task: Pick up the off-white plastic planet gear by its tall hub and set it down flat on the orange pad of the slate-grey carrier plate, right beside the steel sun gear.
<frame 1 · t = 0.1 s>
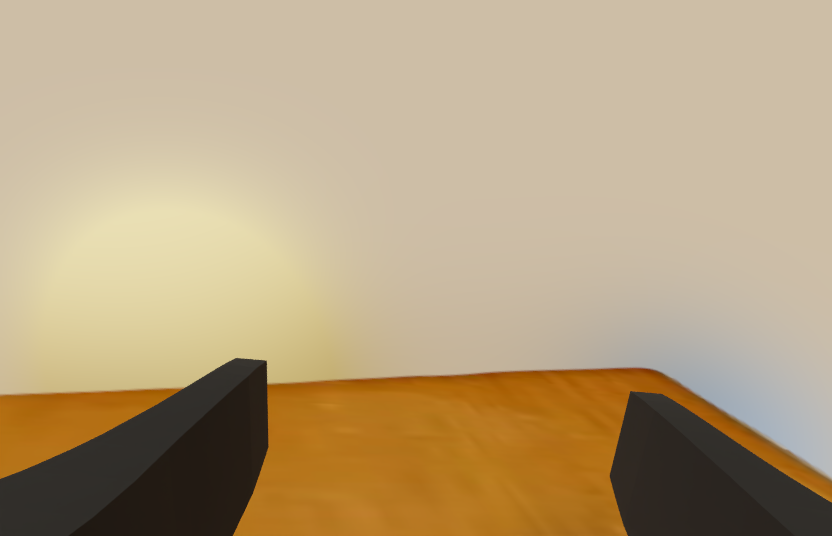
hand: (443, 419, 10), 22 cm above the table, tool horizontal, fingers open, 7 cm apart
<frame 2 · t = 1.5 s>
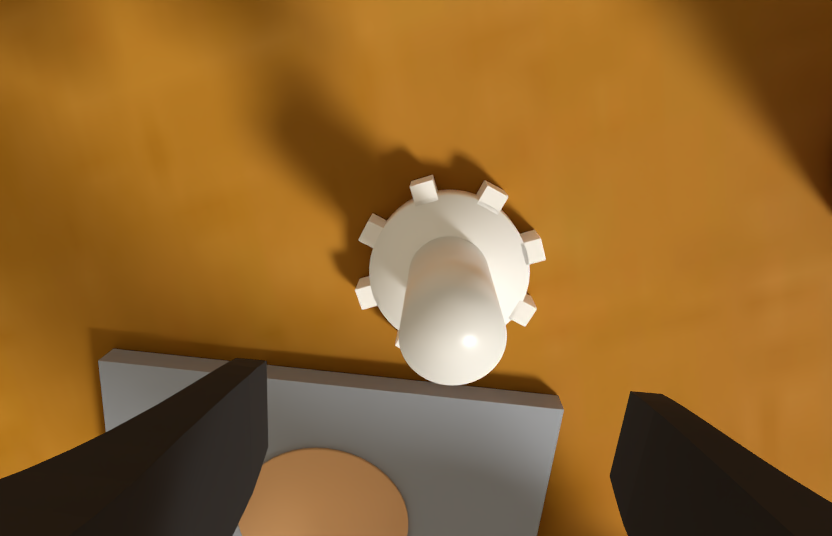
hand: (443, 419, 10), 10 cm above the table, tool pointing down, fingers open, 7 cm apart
planet gear: (448, 264, 19), on the table
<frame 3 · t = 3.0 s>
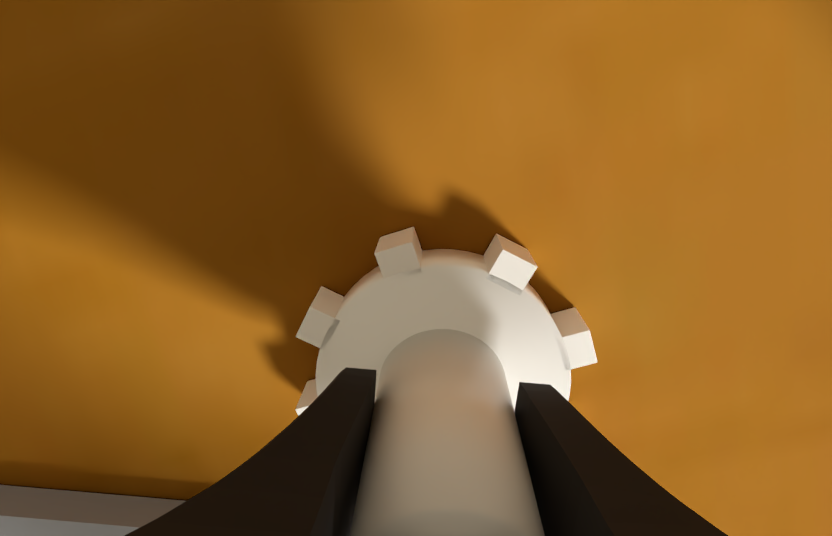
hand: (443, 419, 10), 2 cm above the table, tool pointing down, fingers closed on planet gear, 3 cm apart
planet gear: (441, 359, 13), on the table, touching gripper
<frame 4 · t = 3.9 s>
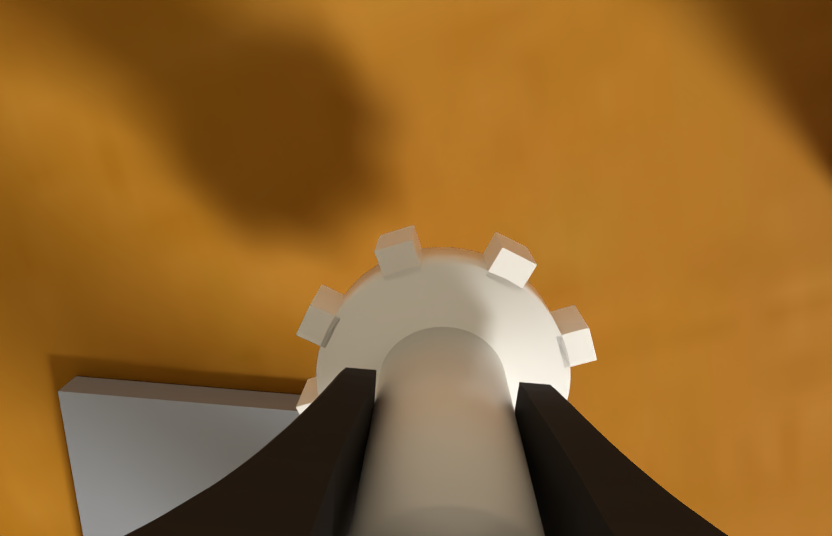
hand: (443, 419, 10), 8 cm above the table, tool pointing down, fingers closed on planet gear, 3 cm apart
planet gear: (441, 357, 13), point 5 cm above the table, touching gripper
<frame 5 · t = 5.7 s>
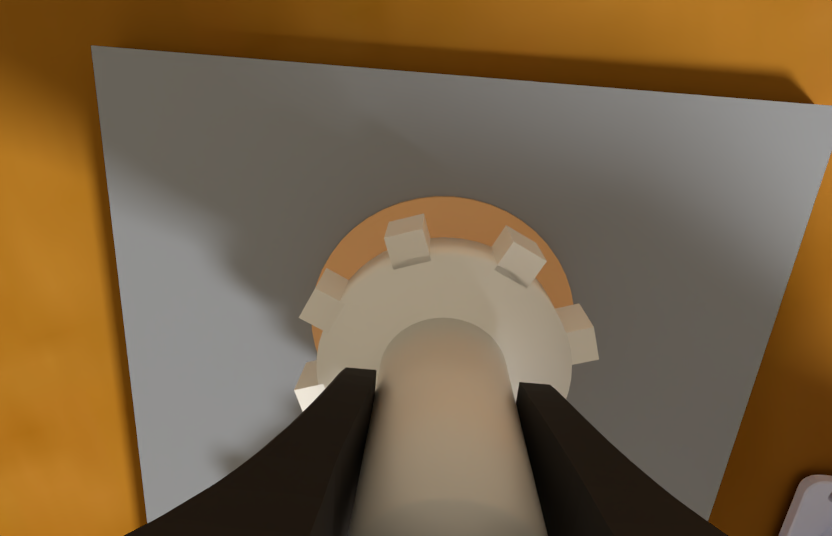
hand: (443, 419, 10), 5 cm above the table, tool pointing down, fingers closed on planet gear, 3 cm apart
planet gear: (442, 348, 13), point 3 cm above the table, touching gripper
carrier plate: (430, 409, 17), on the table
when the fingers open (5 cm above the table, at t = 6.5 s): planet gear drops 1 cm, resting on carrier plate.
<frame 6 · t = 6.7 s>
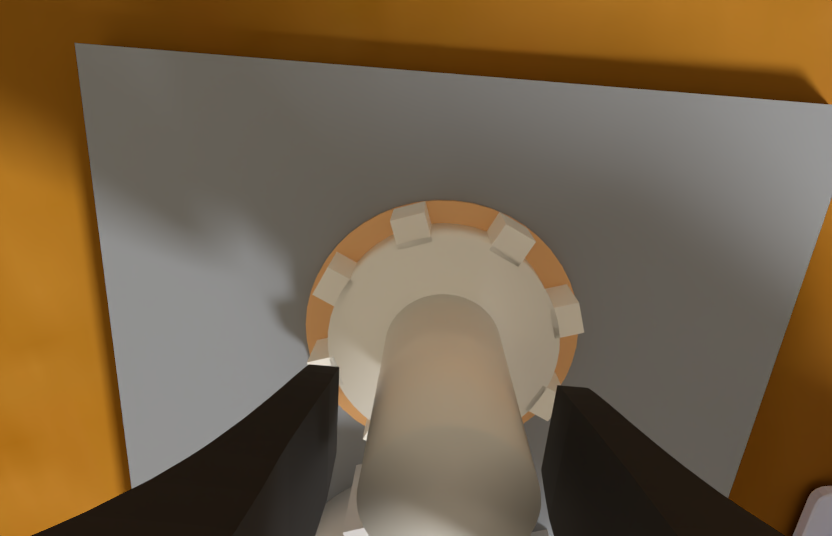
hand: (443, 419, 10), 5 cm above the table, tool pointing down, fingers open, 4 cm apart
planet gear: (442, 326, 14), point 1 cm above the table, touching carrier plate
carrier plate: (429, 419, 16), on the table
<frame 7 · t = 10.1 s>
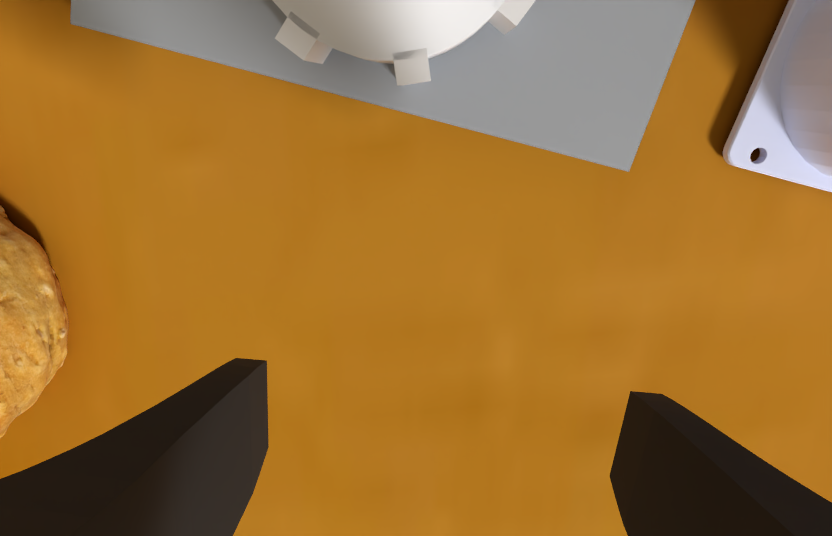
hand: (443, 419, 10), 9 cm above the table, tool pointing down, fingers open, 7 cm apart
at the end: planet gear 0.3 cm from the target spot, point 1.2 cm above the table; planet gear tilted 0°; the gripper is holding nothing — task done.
